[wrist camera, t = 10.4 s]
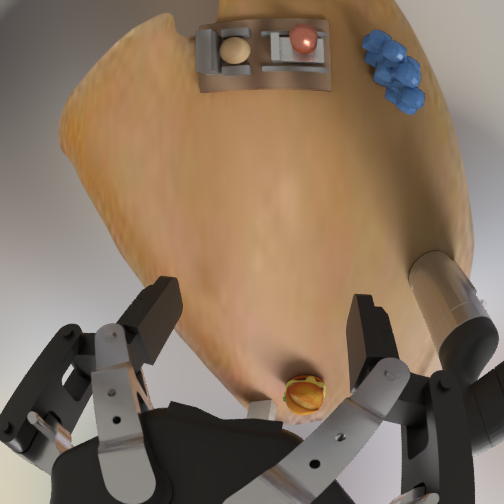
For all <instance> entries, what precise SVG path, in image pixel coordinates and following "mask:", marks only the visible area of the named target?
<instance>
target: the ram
mask: <svg viewBox="0 0 504 504" xmlns="http://www.w3.org/2000/svg"><path fill="white" fill-rule="evenodd" d="M271 60H272V62H273V63H274V64H282V63H306V64H323V65H324V44H323V39H318V33H317V31H316V30H315V28H314V27H312V26H310V25H308V24H297V25H295V26H293V27H292V28H291V29H290V32H289V37H280V35H279V33H271Z"/></svg>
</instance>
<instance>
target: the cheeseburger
mask: <svg viewBox="0 0 504 504" xmlns="http://www.w3.org/2000/svg"><path fill="white" fill-rule="evenodd" d="M325 388H326V386H325V384H324V382H323V381H322V380H321V379H320V378H318V377H315V376H309V375H303V376H297V377H294V378H292V379H291V380H290V381H289V382H288V383H287V384H286V391H285V393H284V396H285V397H283V401H285V402H286V403H287V406H288V408H289V409H290V410H291V411H292V412H293V413H294V414H297V415H307V414H311V413H314V412H316V411H317V410H319V408H320V407H321V405H322V403H323V398H324V396H325Z"/></svg>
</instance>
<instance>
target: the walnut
mask: <svg viewBox="0 0 504 504" xmlns="http://www.w3.org/2000/svg"><path fill="white" fill-rule="evenodd" d="M250 51H251V49H250V45H249V44H248V42H247V41H246V40H244V39H242V38H239V37H231V38H228V39H226V40H225V41H224V42H223V43H222V44H221V46H220V50H219V52H220V56H221V58H222V59H223V60H224V61H226V62H227V63H230V64H239V63H242V62H244V61H245V60H246V59H247V58H248V57H249V55H250Z"/></svg>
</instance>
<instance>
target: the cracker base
mask: <svg viewBox="0 0 504 504" xmlns="http://www.w3.org/2000/svg"><path fill="white" fill-rule="evenodd" d="M297 24H308V25H310V26H312V27H314V28H315V30H316V31H317V33H318V39H323V44H324V65H323V64H306V63H282V64H274V63H273V62H272V60H271V33H279V35H280V37H289V32H290V29H291V28H292V27H293V26H295V25H297ZM231 37H239V38H242V39H244V40H246V41H247V42H248V44H249V45H250V49H251V51H250V55H249V57H248V58H247V59H246V60H245V61H244V62H242V63H239V64H230V63H227V62H226V61H224V60H223V59H222V58H221V56H220V52H219V50H220V46H221V44H222V43H223V42H224V41H225V40H226V39H228V38H231ZM196 72H199V75H200V93H209V92H221V91H235V90H258V89H293V90H315V91H329V92H330V91H331V53H330V33H329V20H324V19H306V18H268V19H250V20H239V21H229V22H221V23H214V24H208V25H202V26H199V31H196Z"/></svg>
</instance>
